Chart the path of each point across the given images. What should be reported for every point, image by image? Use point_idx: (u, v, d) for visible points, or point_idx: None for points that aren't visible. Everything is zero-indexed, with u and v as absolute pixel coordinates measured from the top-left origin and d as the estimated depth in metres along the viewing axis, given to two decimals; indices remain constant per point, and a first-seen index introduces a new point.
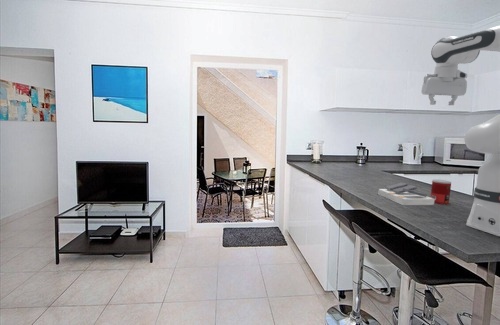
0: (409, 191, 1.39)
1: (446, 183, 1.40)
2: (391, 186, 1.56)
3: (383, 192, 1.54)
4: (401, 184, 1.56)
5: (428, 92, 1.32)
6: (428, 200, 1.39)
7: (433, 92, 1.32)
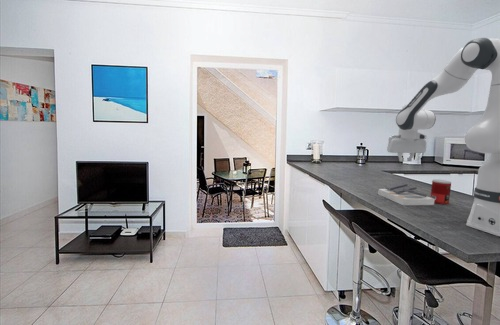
0: (409, 191, 1.39)
1: (446, 183, 1.40)
2: (391, 186, 1.56)
3: (383, 192, 1.54)
4: (401, 184, 1.56)
5: (392, 151, 1.51)
6: (428, 200, 1.39)
7: (396, 151, 1.51)
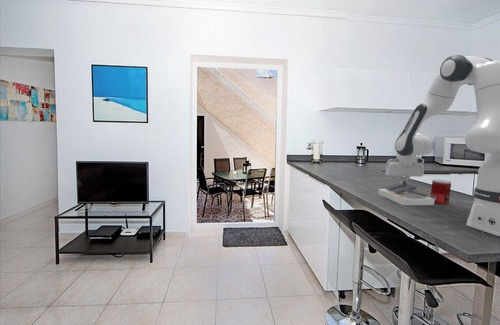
0: (409, 191, 1.39)
1: (446, 183, 1.40)
2: (391, 186, 1.56)
3: (383, 192, 1.54)
4: None
5: (390, 175, 1.53)
6: (428, 200, 1.39)
7: (394, 175, 1.53)
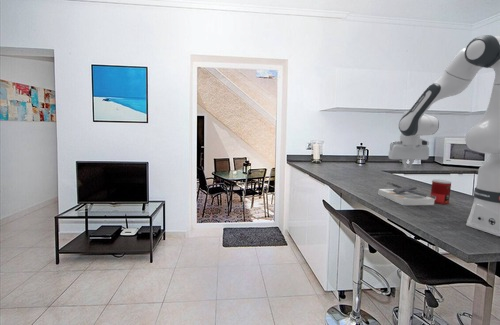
0: (409, 191, 1.39)
1: (446, 183, 1.40)
2: None
3: (383, 192, 1.54)
4: None
5: (394, 158, 1.46)
6: (428, 200, 1.39)
7: (398, 158, 1.47)
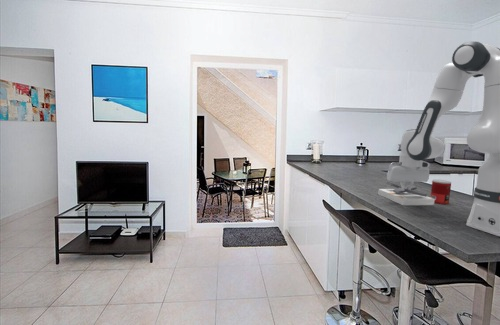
0: (409, 191, 1.39)
1: (446, 183, 1.40)
2: None
3: (383, 192, 1.54)
4: None
5: (392, 180, 1.38)
6: (428, 200, 1.39)
7: (397, 180, 1.39)
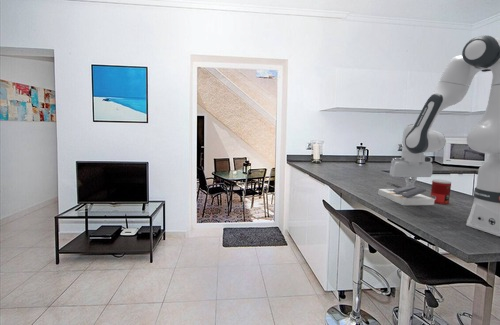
0: (408, 196, 1.40)
1: (446, 183, 1.40)
2: None
3: (383, 192, 1.54)
4: None
5: (395, 176, 1.37)
6: (428, 200, 1.39)
7: (400, 175, 1.38)
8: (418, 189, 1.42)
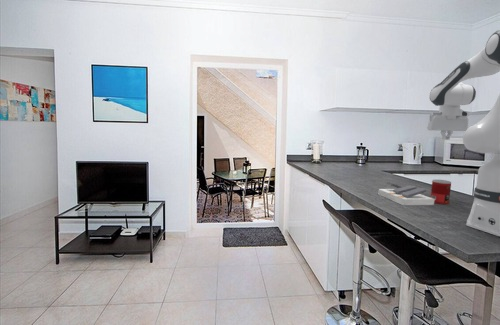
0: (408, 196, 1.40)
1: (446, 183, 1.40)
2: None
3: (383, 192, 1.54)
4: None
5: (433, 129, 1.47)
6: (428, 200, 1.39)
7: (438, 129, 1.47)
8: (418, 189, 1.42)
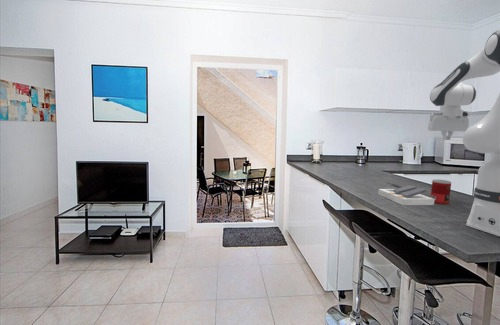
0: (408, 196, 1.40)
1: (446, 183, 1.40)
2: None
3: (383, 192, 1.54)
4: None
5: (434, 129, 1.47)
6: (428, 200, 1.39)
7: (438, 129, 1.47)
8: (418, 189, 1.42)
